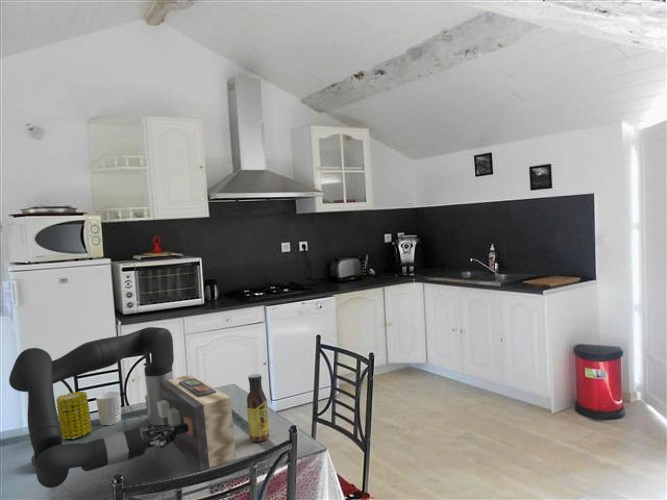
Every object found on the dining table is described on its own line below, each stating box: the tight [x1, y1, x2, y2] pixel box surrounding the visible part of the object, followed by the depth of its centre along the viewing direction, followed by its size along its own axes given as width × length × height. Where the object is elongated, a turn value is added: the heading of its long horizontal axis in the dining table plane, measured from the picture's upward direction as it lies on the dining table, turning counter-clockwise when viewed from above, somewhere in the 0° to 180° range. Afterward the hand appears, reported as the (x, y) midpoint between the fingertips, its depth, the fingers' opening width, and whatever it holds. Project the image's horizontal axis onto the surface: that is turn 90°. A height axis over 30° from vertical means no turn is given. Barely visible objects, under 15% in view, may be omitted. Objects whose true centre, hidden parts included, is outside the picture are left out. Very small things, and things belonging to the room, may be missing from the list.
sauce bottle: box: [246, 373, 270, 443], centre depth 161 cm, size 6×6×20 cm
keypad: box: [160, 374, 237, 472], centre depth 158 cm, size 10×32×19 cm, turn 35°
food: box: [55, 391, 92, 440], centre depth 175 cm, size 15×12×10 cm
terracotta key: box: [184, 416, 193, 436], centre depth 147 cm, size 2×4×4 cm, turn 35°
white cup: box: [95, 390, 122, 425], centre depth 185 cm, size 8×8×10 cm
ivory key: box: [157, 400, 170, 418], centre depth 162 cm, size 2×4×4 cm, turn 35°
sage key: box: [167, 408, 181, 426], centre depth 154 cm, size 2×4×4 cm, turn 35°
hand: (187, 427), depth 146 cm, fingers closed
